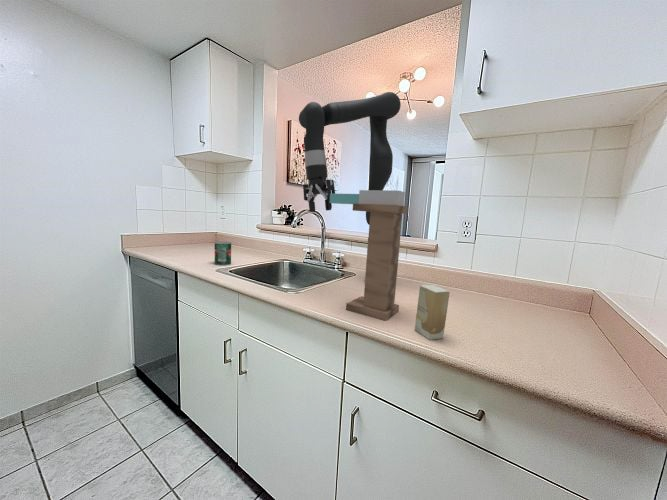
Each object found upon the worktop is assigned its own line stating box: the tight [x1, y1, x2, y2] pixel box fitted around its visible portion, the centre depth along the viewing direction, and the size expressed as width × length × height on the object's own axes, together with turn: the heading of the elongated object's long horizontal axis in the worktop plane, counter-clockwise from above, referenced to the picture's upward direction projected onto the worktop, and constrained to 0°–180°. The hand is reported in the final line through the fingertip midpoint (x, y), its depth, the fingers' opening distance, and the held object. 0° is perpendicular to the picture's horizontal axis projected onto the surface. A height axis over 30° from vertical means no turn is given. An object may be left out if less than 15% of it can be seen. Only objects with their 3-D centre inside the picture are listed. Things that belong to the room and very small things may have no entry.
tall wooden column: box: [345, 204, 409, 322], centre depth 83 cm, size 10×13×32 cm
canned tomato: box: [214, 241, 232, 266], centre depth 139 cm, size 8×8×11 cm
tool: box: [330, 189, 406, 206], centre depth 83 cm, size 23×5×4 cm, turn 57°
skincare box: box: [414, 284, 450, 341], centre depth 69 cm, size 6×4×12 cm
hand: (320, 211), depth 101 cm, fingers open, 8 cm apart
